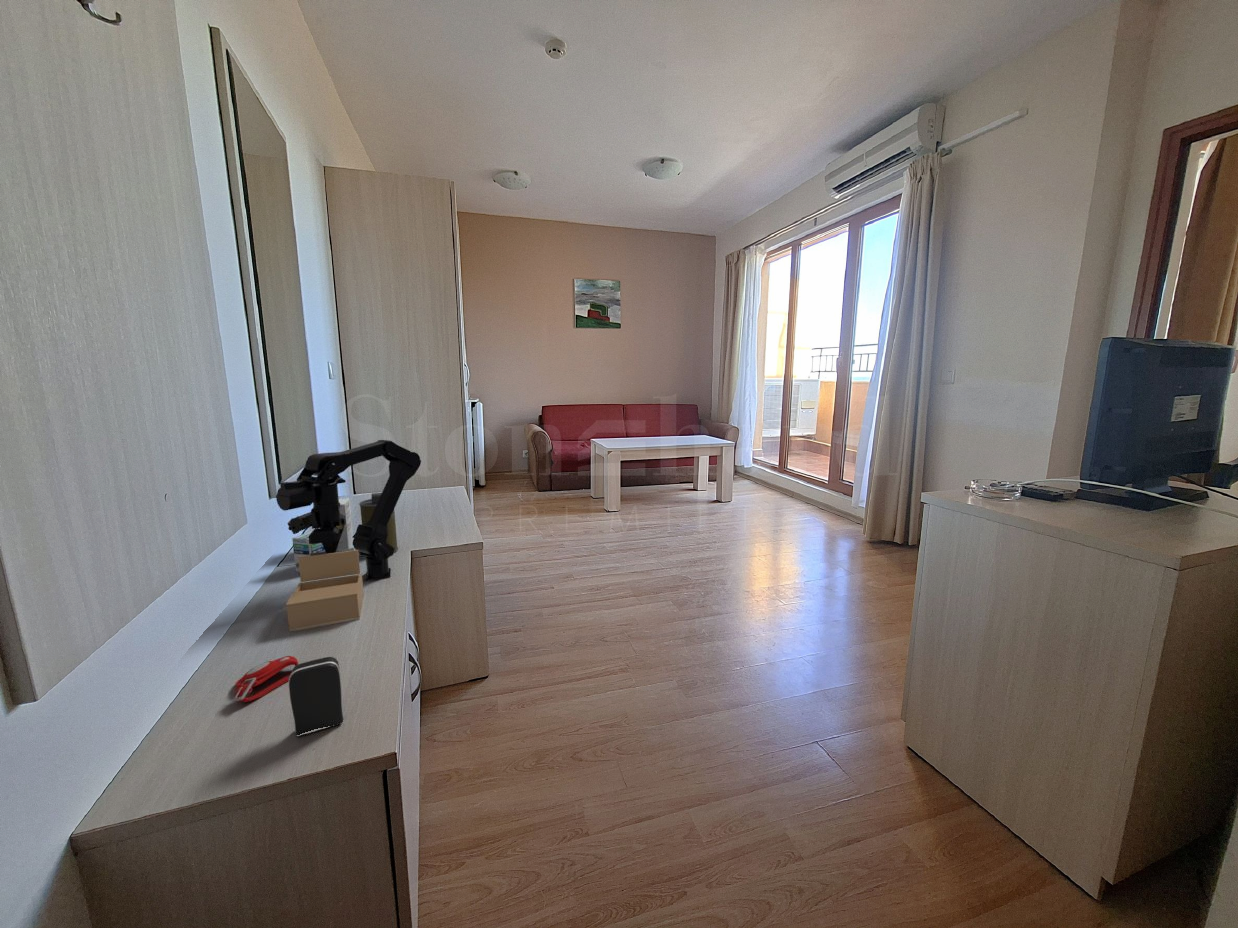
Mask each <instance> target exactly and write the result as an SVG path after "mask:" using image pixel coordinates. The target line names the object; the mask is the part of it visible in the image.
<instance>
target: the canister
mask: <svg viewBox="0 0 1238 928" xmlns="http://www.w3.org/2000/svg"><path fill="white" fill-rule="evenodd" d="M381 494H382V492H372V493H371V494H370V495H371V496H370V497H371V498H367V499H365V500H362V501H360V502H359V504H358V505H359V506H360V507H359V508H360V518H361V525H365V524H366V523H367V522H368V521H369V520H370V518H371V516H372V514H373V512H374V509H375V507H376V505H377V503H378V500H379V498H380V496H381ZM395 513H396V512H395V510H394V511H393V513H392V515H391V518H390V520H389V522H388V524H387V533H388V538H387V541H386V543H387V544H389V545H390V546H392V547H393V548H394V552H395V551H396V552H397V551H398V550H399V547H398V538H397V536H398V535H397V526H396V525H397V524H396V515H395ZM396 552H395V553H396Z"/></svg>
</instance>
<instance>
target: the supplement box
mask: <svg viewBox="0 0 1238 928" xmlns="http://www.w3.org/2000/svg"><path fill="white" fill-rule="evenodd" d="M339 503H340V508H339V509H340V514H343V515H344V516H345V518H346V523H345V525H342V523H341V524H340V526H337V527H338V529H343V533H342V535H341V538H340V541H339V550H342V549H350V548H353V539H354V538H352V537H353V536H354V532H353V524H352V523H353V521H352V519H353V518H352V511H351V498H350V497H347V498H339ZM316 529H319V528H316Z"/></svg>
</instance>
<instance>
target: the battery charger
mask: <svg viewBox="0 0 1238 928" xmlns="http://www.w3.org/2000/svg"><path fill="white" fill-rule="evenodd" d="M340 669H341V668H340V665H339V661H338V660H337V658H335V657H334V656H327V657H322V658H318V659H314V660H310V661H305V662H302V663H298V665H297V666H295V665H294V668H292V669H291V672H290V673H291V675H290V677H289V680H288V693H289V700H290V706H291V711H292V716H293V721H294V732H295V733H296V734H295V736H296V735H300V734H302V733H305V732H308V731H311V730H314V729H318V728H323V727H328V726H333V725H336V726H338V725H337V724H339V725H341V724H340V723H342V722H343V723H344V721H343V720H344V719H345V718H344V717H345V715H344V711H343V694H342V693H343V691H342V679H341V672H340V671H341V670H340ZM343 723H342V724H343ZM333 727H334V726H333Z"/></svg>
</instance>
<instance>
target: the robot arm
mask: <svg viewBox="0 0 1238 928" xmlns="http://www.w3.org/2000/svg"><path fill="white" fill-rule="evenodd" d="M379 457H383V458H384V459H385V460H387V461H388V462H389V464H388V472H389V477H388V478H387V480H386V483H385V485H384V487H383V489H382V492H381V493H382V494H381V496H380V498H379V500H378V503H377V505H376V507H375V509H374V512H373V514H372V516H371V518H370V520H369V521H368V522H367V523H366V524H365V525H362V523H361V524H358V525H357V527H356V530H355V533H353V537H352V538H353V545H352V547H353V548H354V550H358V554H359V556H361V557H363V556H364V557H365V564H366V572H365V577H364V580H365V581H371V580H372V581H373V580H380V579H386V578H390V577H391V571H392V570H391V569H392V568H391V567H389V558H390V557H392V556H394V548H393V547H392V546H390V545H389V544H387V543H386V541H387V538H388V533H387V524H388V522H389V520H390V518H391V515H392V513H393V511H394V512H395V508H396V506H397V503H398V501H399V499H400V497H401V494H402V492H403V490H404V488H405V485H406V483H407V482H408V481H409V480H410V479H411V478H412V477H413V476H415V474H416V473H417V471H418V470H419V468H420V467H421V465H422V459H421V457H420V455H419V454H418V452H415V451H410V450H409V449H407V448H404V447H403V446H400V445H398V444H397V443H396V442H393V441H392V440H387V439H386V440H385V439H378V440H377V441H375V442H371V443H368V444H364V445H360V446H356V447H353V448H350V449H347V450H342V451H339V452H338V451H335V452H321V453H313V454H311V455H309V456H308V457H307V459H306V461H305V465H304V467H303V469H302V470H301V472H300V473H299V475H298V476H297V478H296V480H293V481H284V482H283V481H282V482H280V483H279V485H280V486H279V488H278V490H277V493H276V495H275V499H276V503H277V505H278V507H279V509H280V510H282V511H284V512H285V511H291V510H295V509H300V508H305V507H309V506H311V505H313V506H312V508H311V510H310V512H307V513H304V514H302V515H297V516H296V517H292V518H291V519H290V520H289V521H288V522H287V525H288V527H287V529H288V531H291V533H292V534H293V535H296V534H298V533H300V532H301V531H304V530H306V529H310V528H311V529H312V530H311V531H312V532H311V533H310V535H309V537H308V538H309V544H318V543H322V545H323V547H324V549H325V552H326V554H328V553H336V550H337V547H338V544H339V541H340V538H341V535H342V533H343V529H338V527H337V526H340V524H341V523H342V525H345V523H346V518H345V516H344V515H343V514H340V509H339V508H340V503H339V499H340V498H339V489H338V484H344V483H346V482H347V481H346V479H345V478H342V477H341V476H340V474H342V473H343V472H345V471H346V470H347V469H348V468H350V467H352V466H355V465H357V464H360V463H363V462H366V461H367V462H368V461H369V460H370V461H371V460H374V459H376V458H379ZM316 528H320V529H316Z"/></svg>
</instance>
